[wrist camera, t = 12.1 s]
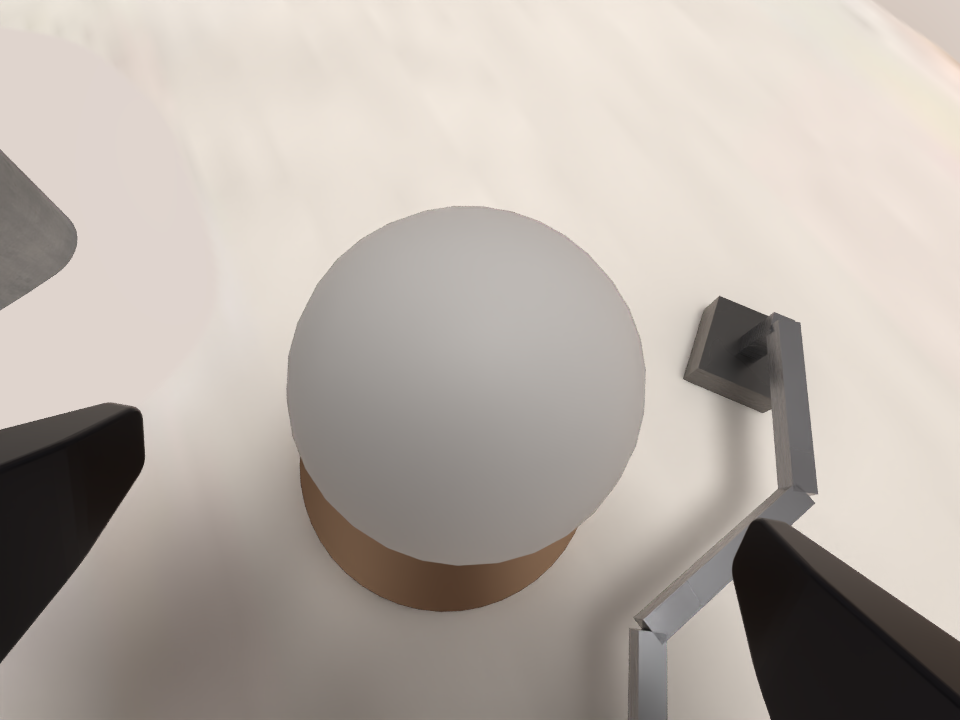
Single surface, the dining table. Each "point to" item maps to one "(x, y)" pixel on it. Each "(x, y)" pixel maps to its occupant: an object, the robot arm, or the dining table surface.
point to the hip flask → (29, 235)
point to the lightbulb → (466, 385)
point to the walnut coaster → (419, 564)
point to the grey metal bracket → (761, 386)
